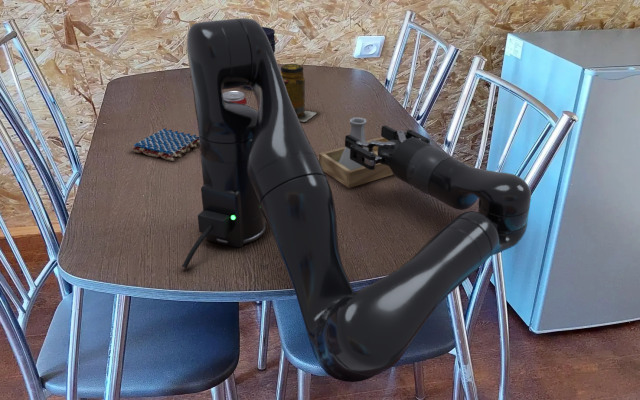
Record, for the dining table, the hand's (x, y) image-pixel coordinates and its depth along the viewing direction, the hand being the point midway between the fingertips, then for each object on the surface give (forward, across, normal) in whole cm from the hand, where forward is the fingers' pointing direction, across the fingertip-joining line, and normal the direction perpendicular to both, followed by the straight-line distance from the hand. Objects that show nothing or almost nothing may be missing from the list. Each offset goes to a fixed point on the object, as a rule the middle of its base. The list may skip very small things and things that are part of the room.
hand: (365, 135), depth 106 cm
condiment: (+35, +6, -9) cm, 37 cm away
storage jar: (+61, +10, -9) cm, 63 cm away
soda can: (+24, -15, -9) cm, 30 cm away
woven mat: (+33, -27, -9) cm, 43 cm away
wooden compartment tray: (+3, +5, -9) cm, 10 cm away
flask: (+2, 0, -8) cm, 8 cm away
